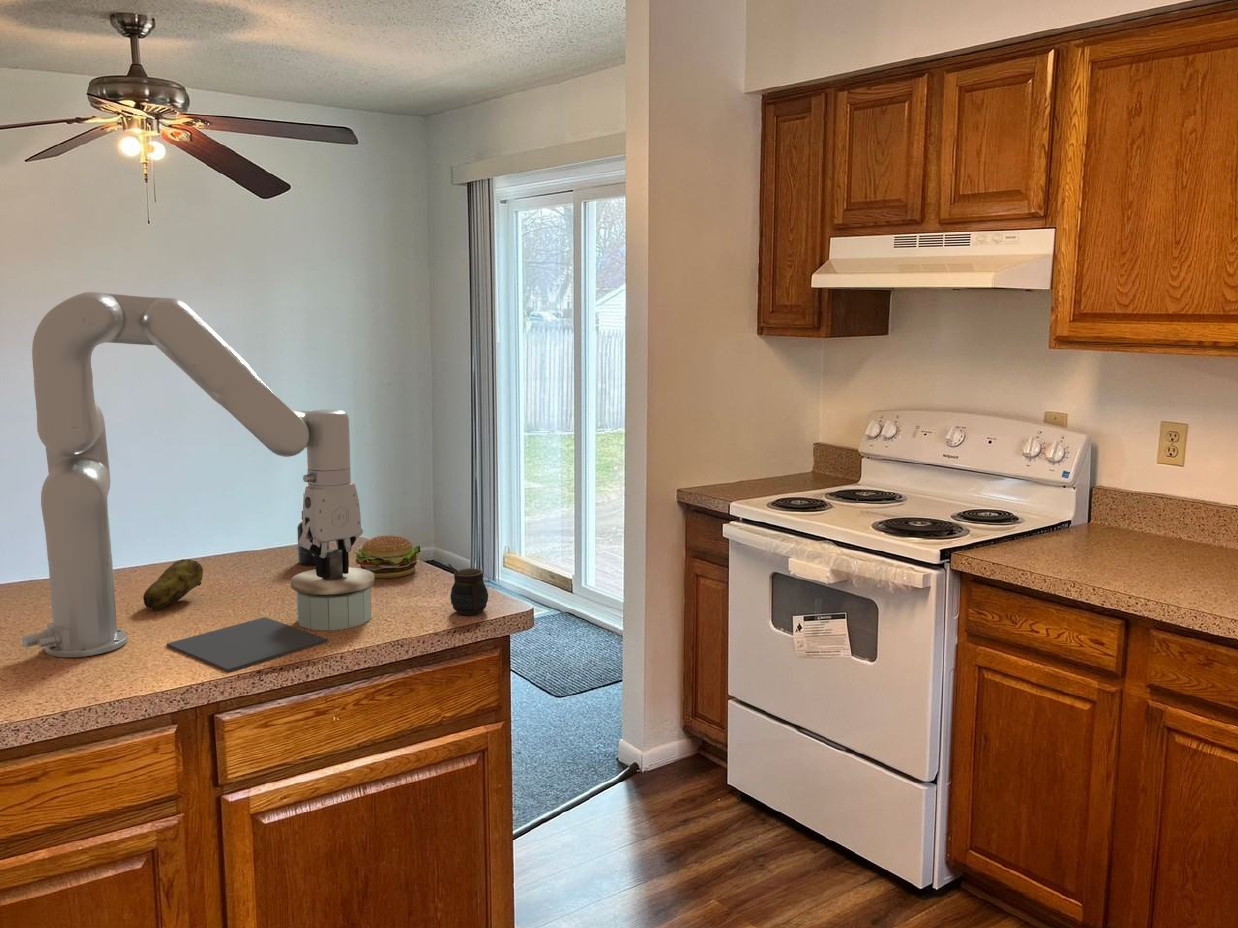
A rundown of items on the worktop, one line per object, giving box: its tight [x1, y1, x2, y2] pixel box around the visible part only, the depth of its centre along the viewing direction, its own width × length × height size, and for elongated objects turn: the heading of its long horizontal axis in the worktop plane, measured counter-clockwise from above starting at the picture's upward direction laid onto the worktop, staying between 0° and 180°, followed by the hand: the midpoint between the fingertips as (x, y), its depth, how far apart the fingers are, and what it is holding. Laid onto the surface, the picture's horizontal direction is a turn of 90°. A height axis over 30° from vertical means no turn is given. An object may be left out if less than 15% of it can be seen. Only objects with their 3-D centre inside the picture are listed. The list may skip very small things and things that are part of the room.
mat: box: [166, 616, 329, 673], centre depth 176 cm, size 19×19×1 cm
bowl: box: [295, 586, 372, 631], centre depth 189 cm, size 13×13×6 cm
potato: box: [142, 558, 204, 611], centre depth 197 cm, size 8×13×8 cm, turn 141°
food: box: [353, 534, 421, 579], centre depth 221 cm, size 14×14×8 cm
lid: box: [290, 548, 376, 595], centre depth 188 cm, size 15×15×6 cm
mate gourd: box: [447, 563, 489, 616], centre depth 194 cm, size 7×8×10 cm
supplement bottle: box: [296, 510, 330, 567], centre depth 228 cm, size 7×7×12 cm
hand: (332, 573), depth 188 cm, fingers closed on lid, 3 cm apart
